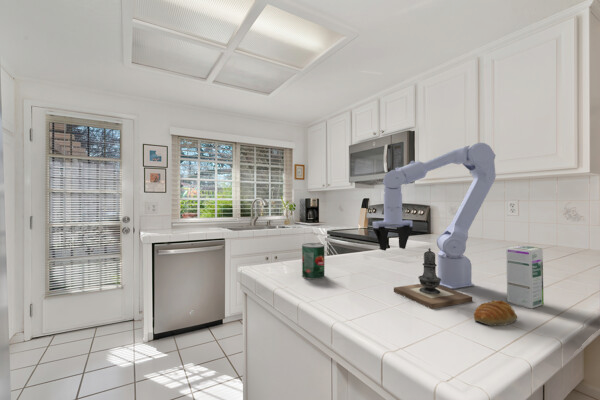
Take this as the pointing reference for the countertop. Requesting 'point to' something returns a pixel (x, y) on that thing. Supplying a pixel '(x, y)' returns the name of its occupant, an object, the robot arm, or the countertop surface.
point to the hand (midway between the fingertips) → (392, 249)
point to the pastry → (495, 313)
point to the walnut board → (433, 296)
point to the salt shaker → (429, 274)
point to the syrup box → (525, 276)
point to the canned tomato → (313, 261)
